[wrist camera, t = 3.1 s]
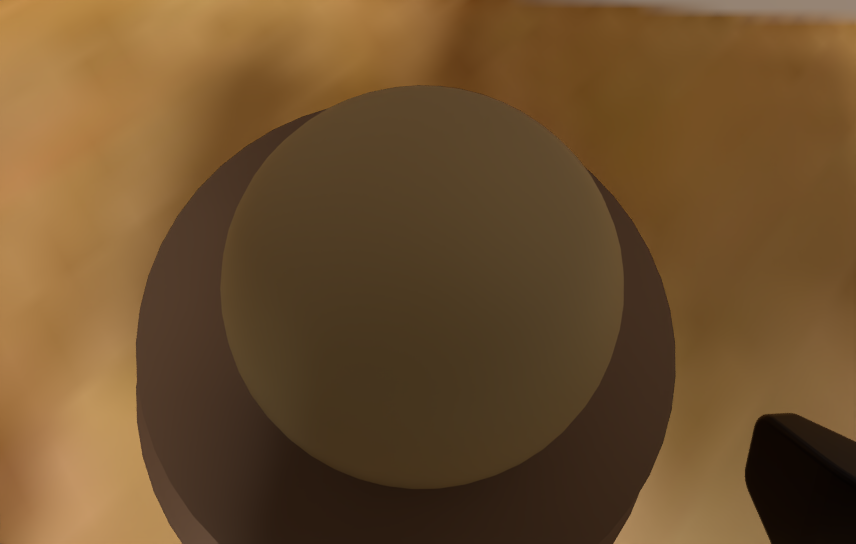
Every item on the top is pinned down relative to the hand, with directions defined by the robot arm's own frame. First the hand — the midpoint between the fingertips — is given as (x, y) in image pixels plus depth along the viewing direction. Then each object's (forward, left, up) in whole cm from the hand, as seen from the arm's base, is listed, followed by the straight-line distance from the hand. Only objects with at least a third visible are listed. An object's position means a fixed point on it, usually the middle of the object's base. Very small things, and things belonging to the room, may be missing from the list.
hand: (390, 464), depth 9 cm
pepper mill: (0, 0, -8) cm, 8 cm away
